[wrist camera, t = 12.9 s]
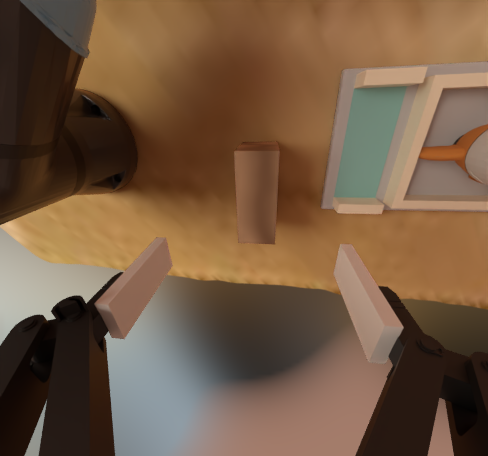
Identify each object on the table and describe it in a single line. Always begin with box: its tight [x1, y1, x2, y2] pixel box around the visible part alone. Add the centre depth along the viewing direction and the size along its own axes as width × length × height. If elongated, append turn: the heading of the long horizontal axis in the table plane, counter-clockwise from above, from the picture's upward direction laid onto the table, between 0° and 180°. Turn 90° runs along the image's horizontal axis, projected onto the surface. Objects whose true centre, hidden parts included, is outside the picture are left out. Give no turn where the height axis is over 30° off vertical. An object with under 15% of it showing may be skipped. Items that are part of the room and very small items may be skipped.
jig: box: [320, 61, 488, 214], centre depth 27 cm, size 24×18×4 cm
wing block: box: [234, 142, 280, 244], centre depth 29 cm, size 5×12×9 cm, turn 2°
